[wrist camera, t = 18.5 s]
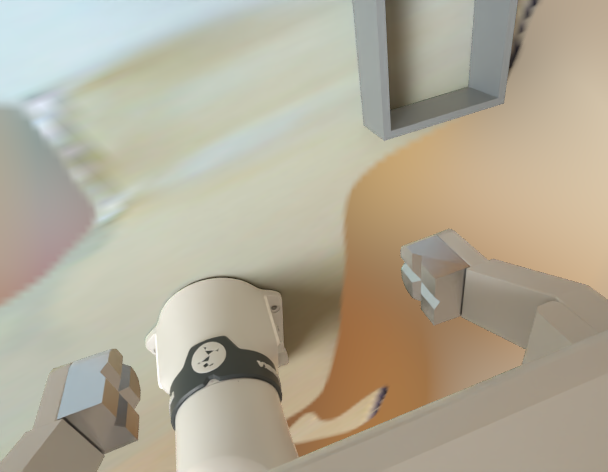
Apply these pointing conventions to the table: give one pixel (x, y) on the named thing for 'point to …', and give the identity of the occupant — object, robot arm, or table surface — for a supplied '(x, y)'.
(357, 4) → the parts bin
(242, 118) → the table surface
